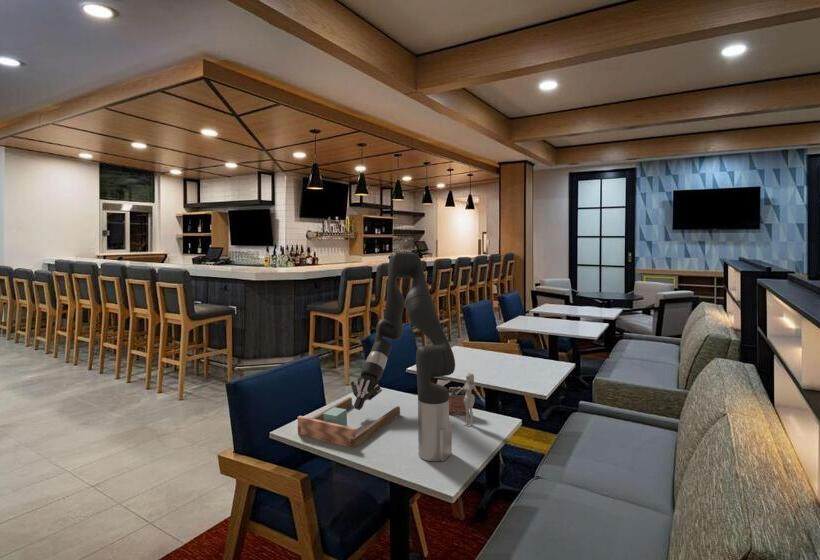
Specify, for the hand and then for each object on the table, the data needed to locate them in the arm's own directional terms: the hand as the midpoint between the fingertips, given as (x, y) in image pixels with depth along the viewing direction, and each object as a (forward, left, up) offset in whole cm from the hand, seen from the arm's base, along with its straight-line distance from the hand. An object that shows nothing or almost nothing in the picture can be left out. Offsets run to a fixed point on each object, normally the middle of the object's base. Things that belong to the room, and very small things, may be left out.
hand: (357, 408), depth 165 cm
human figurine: (-37, -14, -4) cm, 40 cm away
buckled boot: (-30, -21, -4) cm, 37 cm away
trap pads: (0, +7, -4) cm, 8 cm away
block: (0, +13, -4) cm, 14 cm away
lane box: (0, +4, -4) cm, 6 cm away
